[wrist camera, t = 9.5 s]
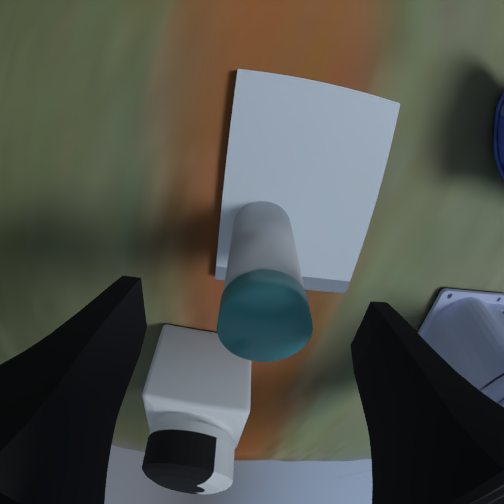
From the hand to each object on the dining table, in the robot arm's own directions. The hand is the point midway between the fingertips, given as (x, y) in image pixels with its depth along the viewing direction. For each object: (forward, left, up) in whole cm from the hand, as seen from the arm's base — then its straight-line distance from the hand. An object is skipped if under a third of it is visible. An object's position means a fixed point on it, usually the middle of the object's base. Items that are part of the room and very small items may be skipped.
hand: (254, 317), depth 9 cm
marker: (-1, +2, -10) cm, 10 cm away
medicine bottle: (+2, +15, -10) cm, 18 cm away
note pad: (-3, -1, -10) cm, 10 cm away
